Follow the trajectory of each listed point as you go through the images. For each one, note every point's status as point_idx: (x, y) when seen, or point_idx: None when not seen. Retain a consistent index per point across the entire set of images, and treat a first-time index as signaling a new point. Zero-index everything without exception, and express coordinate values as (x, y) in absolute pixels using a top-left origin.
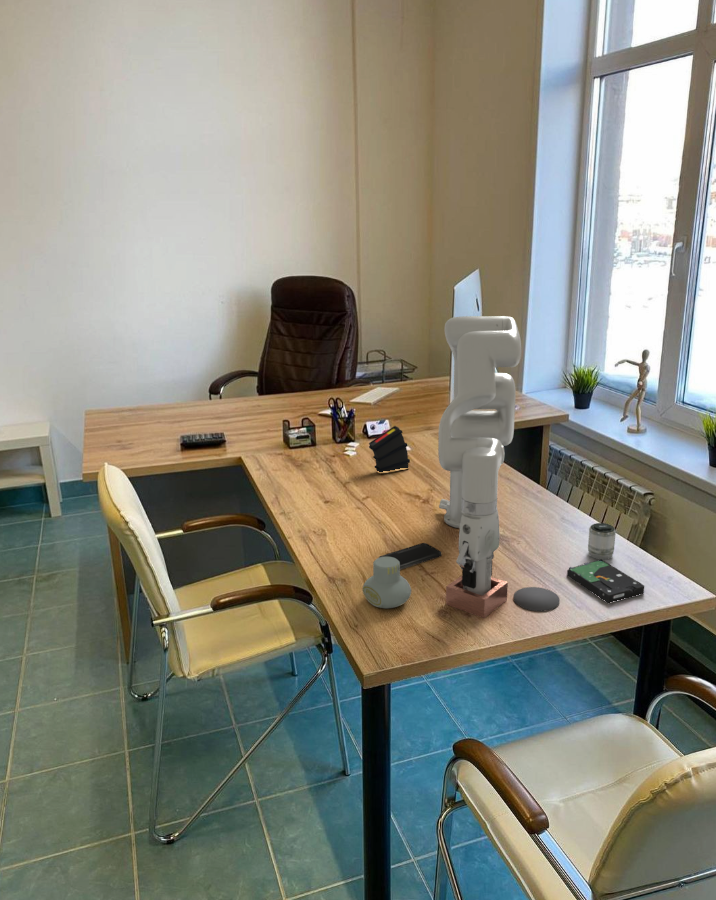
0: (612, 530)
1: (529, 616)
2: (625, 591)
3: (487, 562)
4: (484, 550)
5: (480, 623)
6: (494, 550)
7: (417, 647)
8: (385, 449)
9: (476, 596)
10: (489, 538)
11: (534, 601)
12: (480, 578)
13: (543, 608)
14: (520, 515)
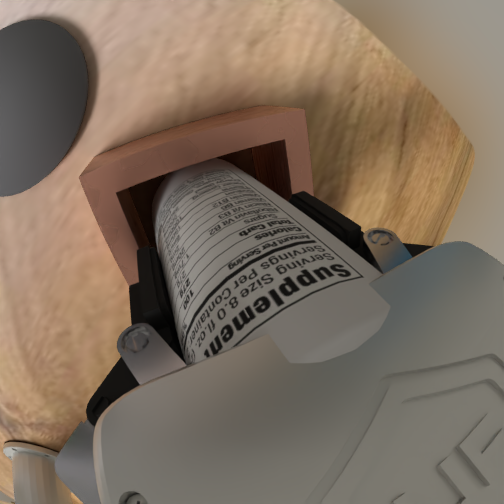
0: None
1: (120, 17)
2: None
3: (311, 249)
4: (459, 316)
5: (293, 93)
6: (204, 367)
7: (433, 140)
8: None
9: (307, 153)
10: (460, 474)
11: (28, 84)
12: (291, 205)
13: (45, 26)
14: None
